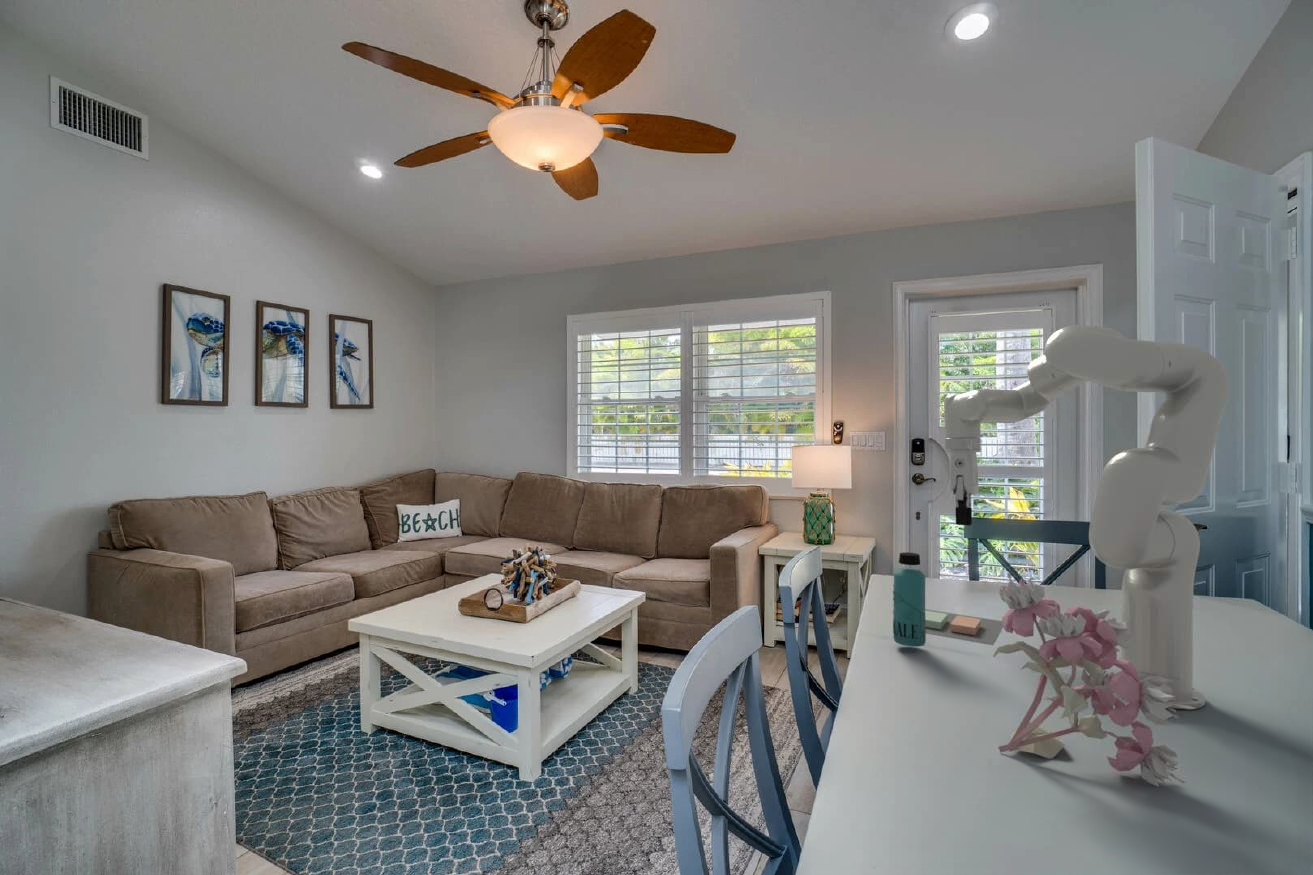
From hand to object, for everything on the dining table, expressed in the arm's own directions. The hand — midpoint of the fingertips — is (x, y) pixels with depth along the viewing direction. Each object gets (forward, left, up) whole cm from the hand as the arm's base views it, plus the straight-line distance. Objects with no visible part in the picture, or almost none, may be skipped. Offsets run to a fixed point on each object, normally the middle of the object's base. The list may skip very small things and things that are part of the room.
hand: (963, 524), depth 144 cm
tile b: (-1, +6, -22) cm, 23 cm away
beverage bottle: (-24, +6, -24) cm, 34 cm away
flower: (-57, -26, -24) cm, 67 cm away
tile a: (-1, -1, -22) cm, 22 cm away
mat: (-3, +2, -24) cm, 24 cm away
